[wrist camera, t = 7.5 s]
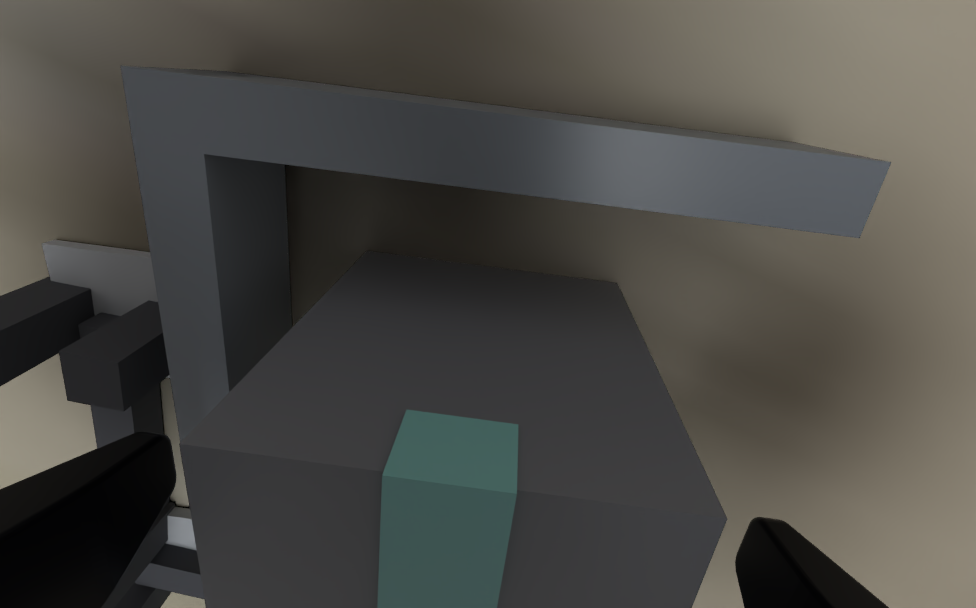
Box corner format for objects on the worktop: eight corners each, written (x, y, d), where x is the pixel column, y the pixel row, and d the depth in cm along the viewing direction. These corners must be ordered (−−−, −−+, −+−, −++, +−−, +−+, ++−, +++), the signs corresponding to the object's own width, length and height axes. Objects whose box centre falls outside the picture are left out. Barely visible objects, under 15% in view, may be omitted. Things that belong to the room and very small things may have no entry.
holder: (644, 584, 13) (670, 689, 11) (263, 530, 13) (209, 623, 11) (795, 142, 9) (891, 162, 6) (224, 71, 9) (121, 65, 7)
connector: (571, 479, 12) (612, 819, 6) (364, 451, 12) (225, 762, 7) (617, 280, 10) (732, 522, 4) (367, 247, 10) (171, 446, 5)
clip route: (490, 654, 15) (483, 760, 12) (123, 601, 15) (49, 695, 13) (553, 305, 10) (560, 368, 8) (29, 236, 10) (-109, 278, 8)
